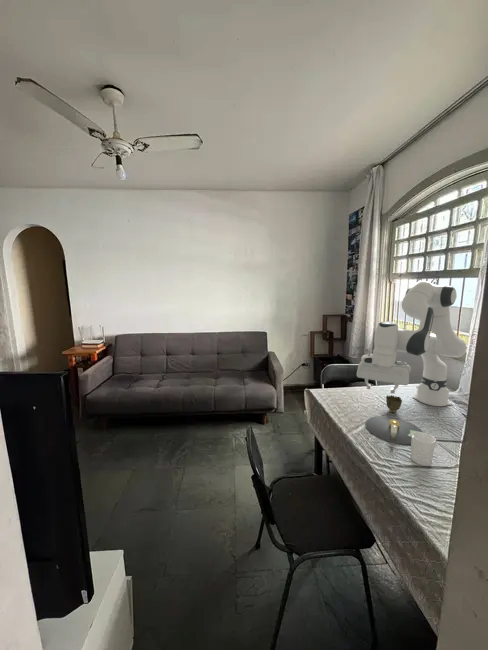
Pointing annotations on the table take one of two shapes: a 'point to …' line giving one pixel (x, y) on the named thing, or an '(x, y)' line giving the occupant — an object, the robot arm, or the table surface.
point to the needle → (393, 428)
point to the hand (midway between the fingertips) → (380, 390)
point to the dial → (382, 430)
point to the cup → (393, 403)
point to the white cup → (422, 448)
